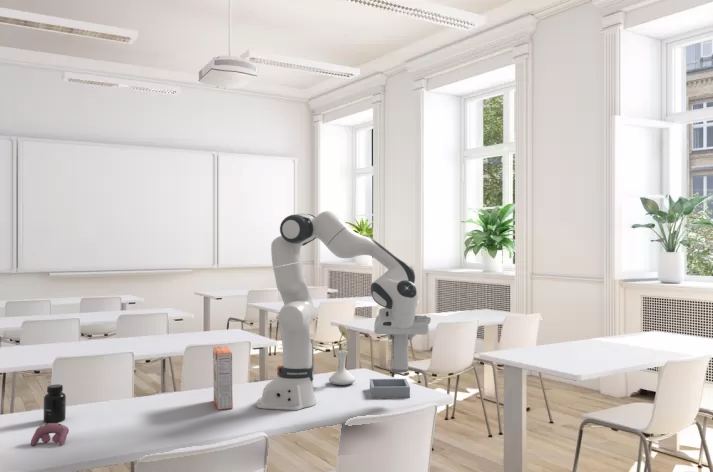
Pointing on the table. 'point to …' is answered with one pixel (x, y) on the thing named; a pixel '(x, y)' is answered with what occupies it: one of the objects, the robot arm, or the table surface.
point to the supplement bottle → (54, 404)
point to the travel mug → (400, 353)
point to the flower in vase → (342, 363)
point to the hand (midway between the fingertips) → (399, 338)
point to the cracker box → (222, 377)
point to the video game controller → (46, 430)
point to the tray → (389, 388)
